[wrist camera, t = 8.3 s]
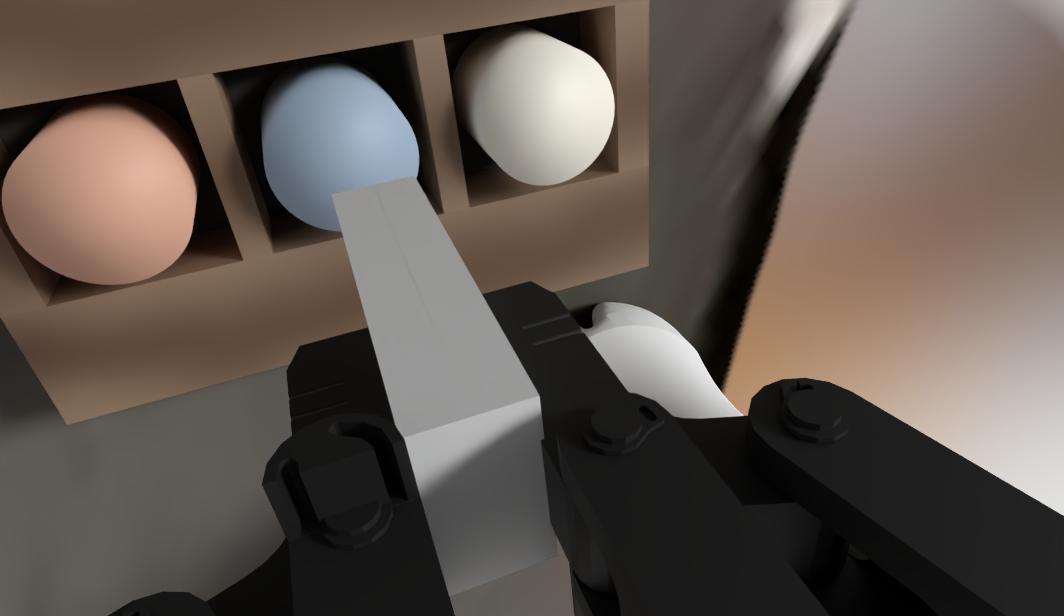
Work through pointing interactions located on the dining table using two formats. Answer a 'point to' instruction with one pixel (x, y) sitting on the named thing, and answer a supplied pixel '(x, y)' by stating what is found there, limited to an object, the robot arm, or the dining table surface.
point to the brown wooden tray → (286, 241)
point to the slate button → (331, 137)
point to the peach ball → (105, 191)
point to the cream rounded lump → (533, 103)
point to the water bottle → (656, 361)
